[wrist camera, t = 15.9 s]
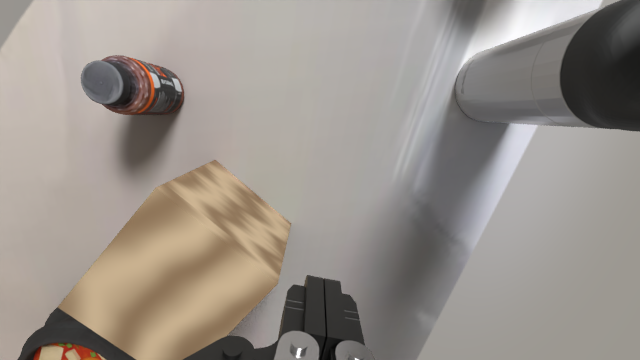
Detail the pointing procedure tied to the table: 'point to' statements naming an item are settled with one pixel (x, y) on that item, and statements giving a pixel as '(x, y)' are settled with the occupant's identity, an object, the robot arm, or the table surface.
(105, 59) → the supplement bottle
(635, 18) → the robot arm
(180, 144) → the table surface
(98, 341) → the casserole
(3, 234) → the table surface
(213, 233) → the shelf riser
